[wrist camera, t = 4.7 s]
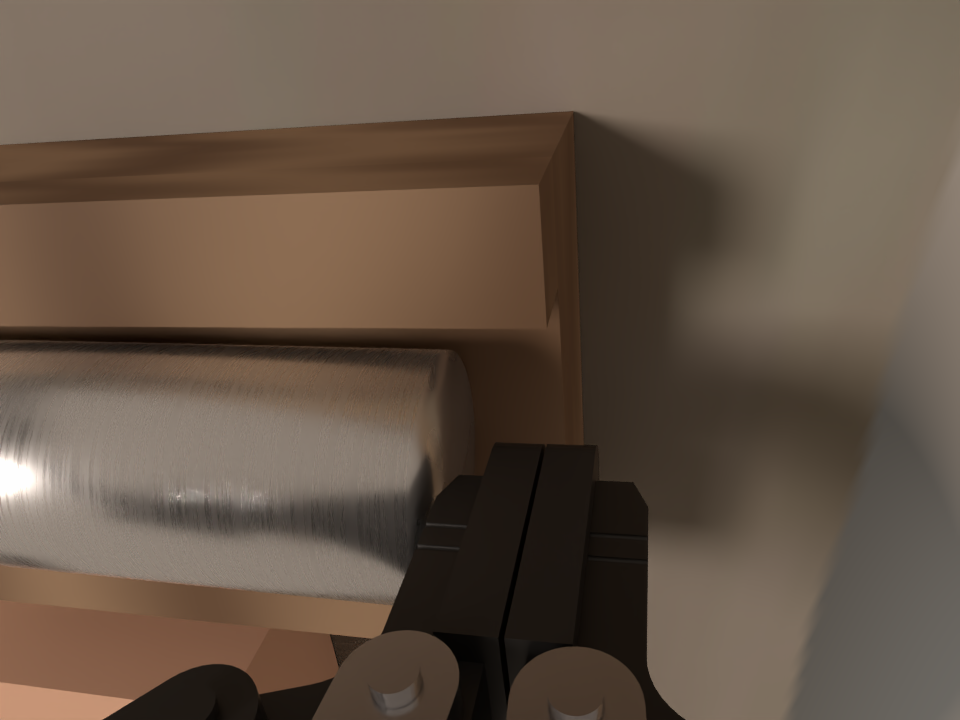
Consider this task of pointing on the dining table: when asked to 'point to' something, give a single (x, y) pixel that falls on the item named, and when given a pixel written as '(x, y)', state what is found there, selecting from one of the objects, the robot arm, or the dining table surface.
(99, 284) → the wooden channel bracket
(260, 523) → the steel axle
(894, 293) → the dining table surface
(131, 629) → the terracotta cradle
